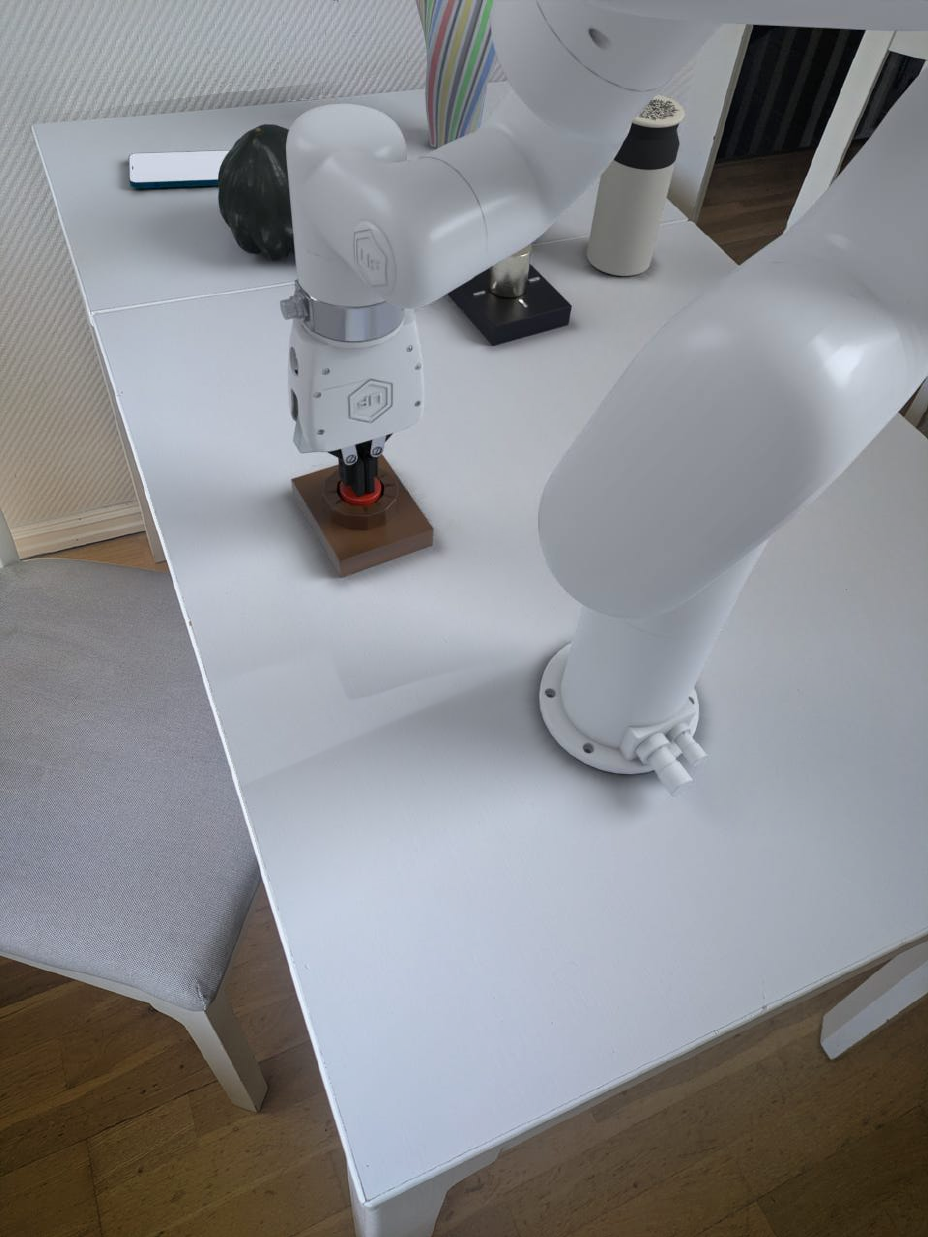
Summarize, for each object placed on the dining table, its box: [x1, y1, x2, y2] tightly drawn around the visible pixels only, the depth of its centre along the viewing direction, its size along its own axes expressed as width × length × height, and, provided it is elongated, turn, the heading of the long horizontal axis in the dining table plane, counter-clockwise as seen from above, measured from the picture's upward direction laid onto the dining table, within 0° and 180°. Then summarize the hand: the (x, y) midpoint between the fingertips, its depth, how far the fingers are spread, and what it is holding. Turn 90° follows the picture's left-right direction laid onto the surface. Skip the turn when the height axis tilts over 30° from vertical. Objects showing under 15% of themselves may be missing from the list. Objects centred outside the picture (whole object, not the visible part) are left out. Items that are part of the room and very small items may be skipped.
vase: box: [415, 0, 498, 149], centre depth 116 cm, size 14×14×30 cm
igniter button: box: [340, 477, 381, 506], centre depth 80 cm, size 4×4×2 cm
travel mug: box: [586, 94, 685, 277], centre depth 105 cm, size 8×8×18 cm
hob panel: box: [446, 263, 573, 347], centre depth 104 cm, size 12×10×3 cm
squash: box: [217, 123, 295, 261], centre depth 105 cm, size 14×15×15 cm
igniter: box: [290, 453, 435, 578], centre depth 81 cm, size 11×9×4 cm
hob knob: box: [488, 243, 533, 298], centre depth 101 cm, size 4×4×5 cm
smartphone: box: [128, 149, 231, 189], centre depth 118 cm, size 8×1×16 cm
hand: (358, 484), depth 79 cm, fingers closed
